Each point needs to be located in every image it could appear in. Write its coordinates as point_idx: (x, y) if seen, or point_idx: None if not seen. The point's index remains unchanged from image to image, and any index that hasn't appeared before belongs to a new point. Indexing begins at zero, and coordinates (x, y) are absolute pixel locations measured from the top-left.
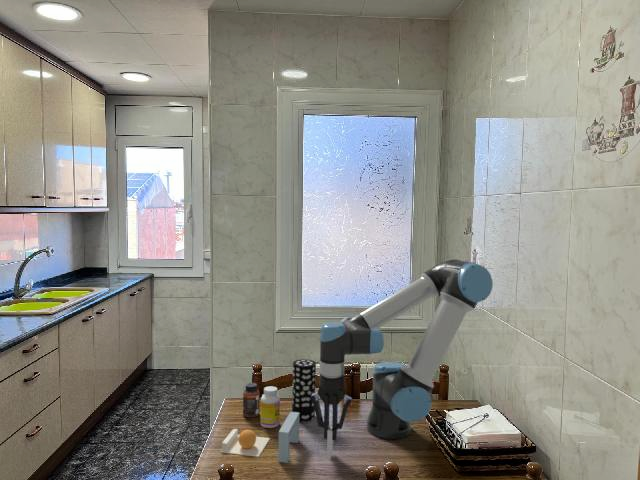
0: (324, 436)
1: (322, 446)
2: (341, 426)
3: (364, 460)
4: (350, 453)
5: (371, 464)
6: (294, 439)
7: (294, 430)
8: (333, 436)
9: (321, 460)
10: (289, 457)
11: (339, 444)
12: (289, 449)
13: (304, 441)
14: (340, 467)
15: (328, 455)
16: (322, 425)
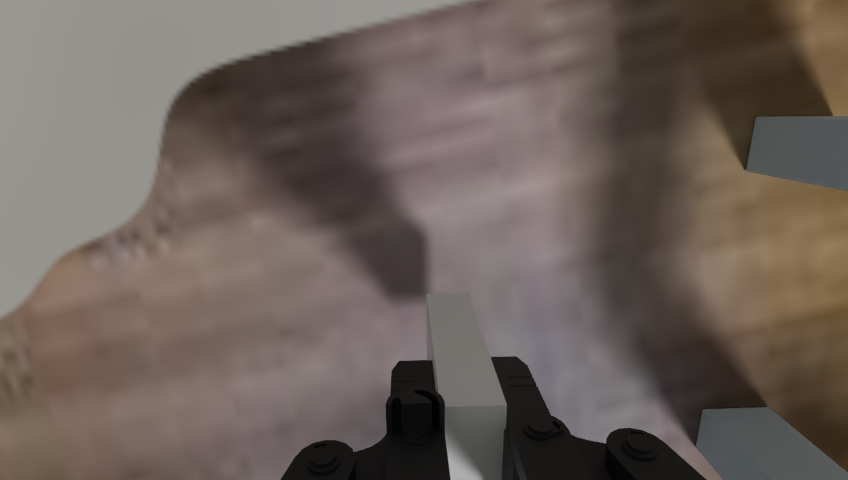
0: (523, 370)
1: None
2: (298, 472)
3: (168, 296)
4: (296, 365)
5: (100, 253)
6: (741, 424)
7: (800, 477)
8: (422, 380)
9: (494, 218)
10: (758, 171)
11: None
12: (819, 177)
13: None
14: (328, 151)
15: None
16: (597, 461)
